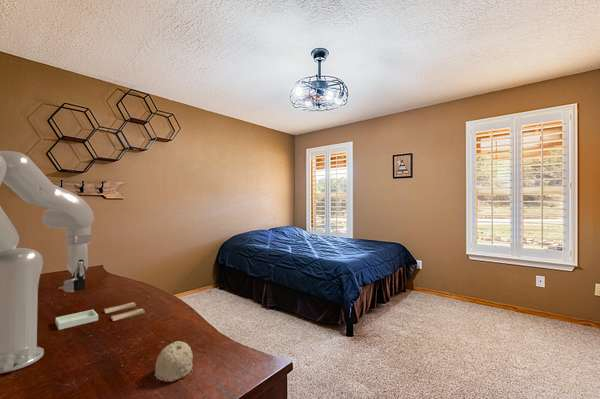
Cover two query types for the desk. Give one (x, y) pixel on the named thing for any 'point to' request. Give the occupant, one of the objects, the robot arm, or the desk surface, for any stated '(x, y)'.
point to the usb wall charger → (68, 285)
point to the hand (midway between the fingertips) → (77, 288)
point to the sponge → (174, 361)
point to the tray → (76, 319)
